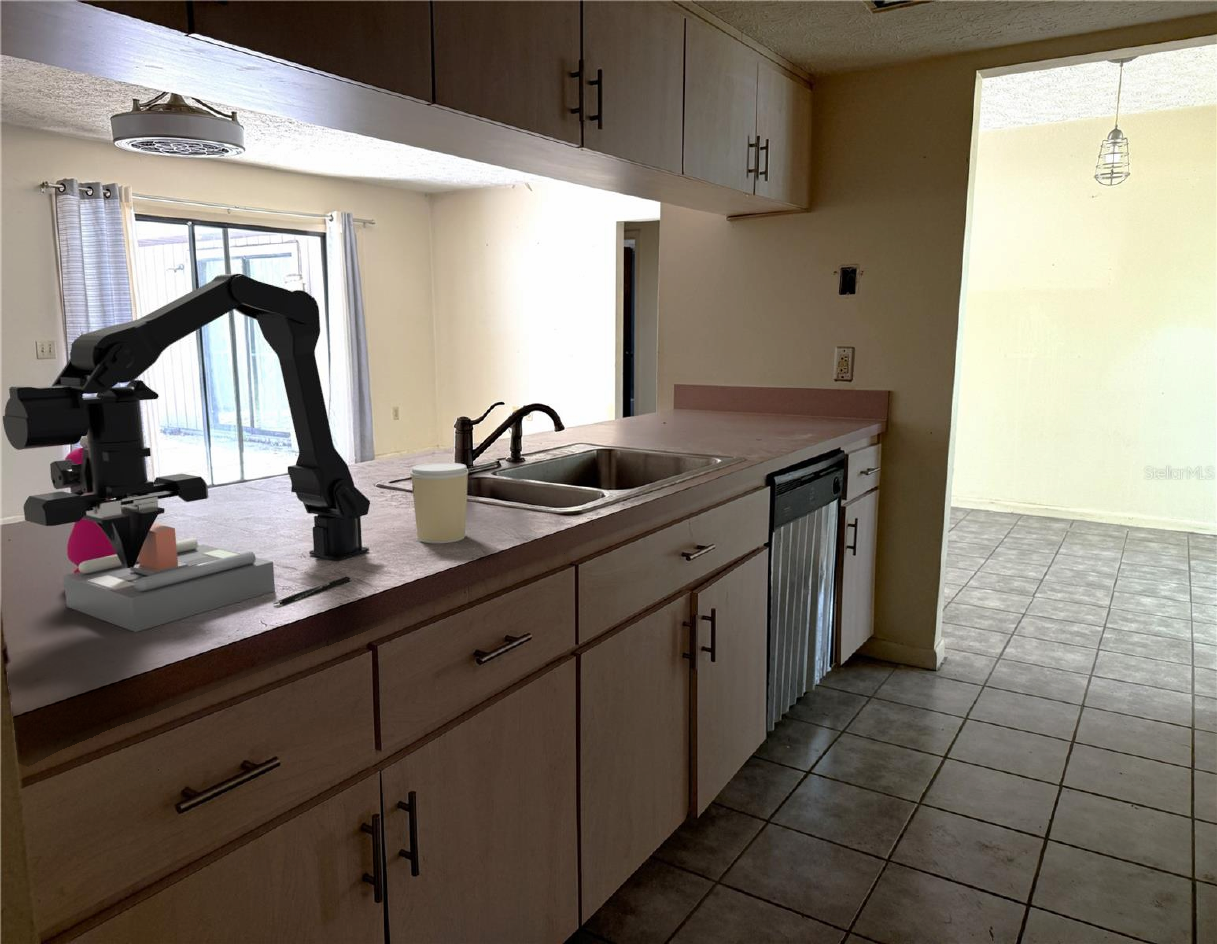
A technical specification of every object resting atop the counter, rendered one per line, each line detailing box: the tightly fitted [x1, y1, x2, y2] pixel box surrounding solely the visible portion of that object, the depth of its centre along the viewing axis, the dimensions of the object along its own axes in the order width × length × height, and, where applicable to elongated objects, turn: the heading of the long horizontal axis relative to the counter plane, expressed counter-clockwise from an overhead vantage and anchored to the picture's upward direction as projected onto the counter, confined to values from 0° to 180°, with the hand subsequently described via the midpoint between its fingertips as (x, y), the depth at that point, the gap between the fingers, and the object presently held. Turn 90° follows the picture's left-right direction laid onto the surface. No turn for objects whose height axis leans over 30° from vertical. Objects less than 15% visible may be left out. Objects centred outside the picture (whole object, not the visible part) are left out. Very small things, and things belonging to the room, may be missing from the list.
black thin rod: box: [272, 576, 351, 608], centre depth 107 cm, size 12×1×1 cm, turn 152°
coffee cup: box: [409, 462, 469, 544], centre depth 135 cm, size 9×9×12 cm
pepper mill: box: [64, 436, 116, 573], centre depth 111 cm, size 7×7×20 cm
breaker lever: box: [130, 523, 188, 576], centre depth 102 cm, size 4×5×5 cm
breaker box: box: [63, 537, 276, 633], centre depth 104 cm, size 18×16×6 cm
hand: (128, 567), depth 99 cm, fingers closed
